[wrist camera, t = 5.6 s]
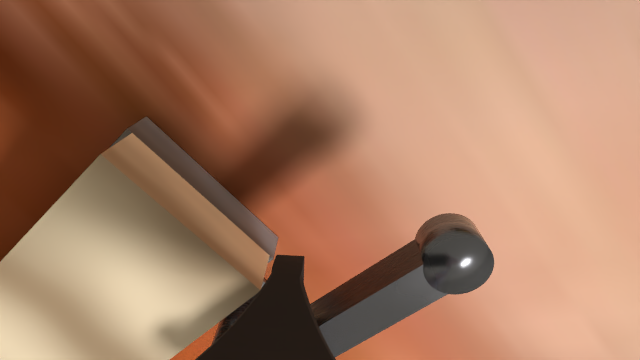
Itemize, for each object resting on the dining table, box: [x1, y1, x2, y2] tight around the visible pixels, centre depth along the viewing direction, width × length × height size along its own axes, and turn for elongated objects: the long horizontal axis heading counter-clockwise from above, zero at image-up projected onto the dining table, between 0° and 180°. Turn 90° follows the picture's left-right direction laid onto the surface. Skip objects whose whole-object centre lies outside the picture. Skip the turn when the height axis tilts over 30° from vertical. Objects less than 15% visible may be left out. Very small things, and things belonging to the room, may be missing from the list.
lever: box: [212, 213, 494, 358], centre depth 14 cm, size 10×2×5 cm, turn 129°
